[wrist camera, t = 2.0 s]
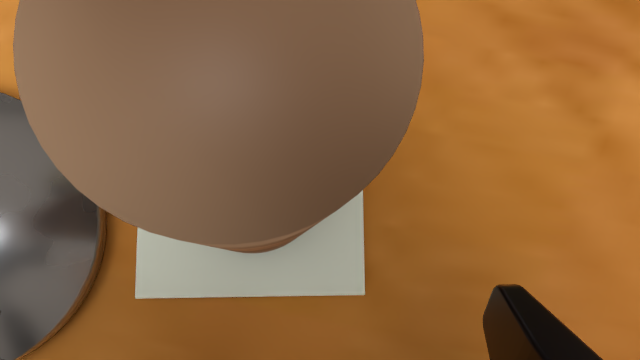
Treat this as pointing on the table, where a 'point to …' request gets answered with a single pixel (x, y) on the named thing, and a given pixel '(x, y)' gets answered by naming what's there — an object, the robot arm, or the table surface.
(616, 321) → the table surface
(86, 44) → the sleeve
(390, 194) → the table surface
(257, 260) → the stand
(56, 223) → the grey saucer
